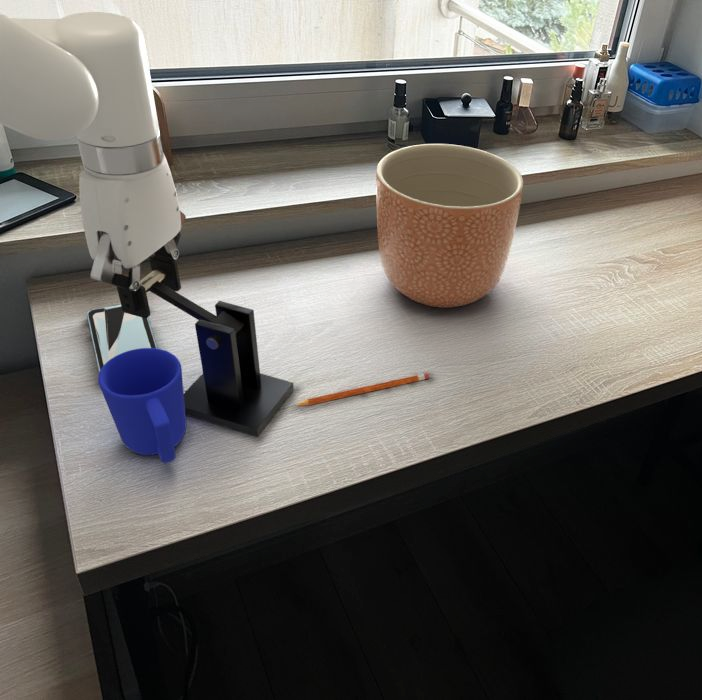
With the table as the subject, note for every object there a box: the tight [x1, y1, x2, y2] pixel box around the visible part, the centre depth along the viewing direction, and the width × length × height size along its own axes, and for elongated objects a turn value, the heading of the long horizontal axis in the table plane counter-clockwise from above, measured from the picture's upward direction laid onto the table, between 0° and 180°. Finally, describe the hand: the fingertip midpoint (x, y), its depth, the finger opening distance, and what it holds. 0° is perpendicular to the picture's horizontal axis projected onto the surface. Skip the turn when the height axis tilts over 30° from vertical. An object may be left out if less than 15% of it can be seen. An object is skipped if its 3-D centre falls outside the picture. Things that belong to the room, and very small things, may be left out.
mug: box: [97, 348, 187, 464], centre depth 79 cm, size 8×12×10 cm
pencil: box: [295, 372, 430, 406], centre depth 92 cm, size 1×18×1 cm, turn 115°
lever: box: [140, 267, 244, 340], centre depth 82 cm, size 12×5×2 cm, turn 75°
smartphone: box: [86, 303, 159, 373], centre depth 95 cm, size 7×1×15 cm
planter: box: [375, 143, 525, 309], centre depth 107 cm, size 21×21×19 cm
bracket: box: [184, 300, 295, 437], centre depth 85 cm, size 11×9×13 cm
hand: (152, 299), depth 83 cm, fingers closed on lever, 5 cm apart
